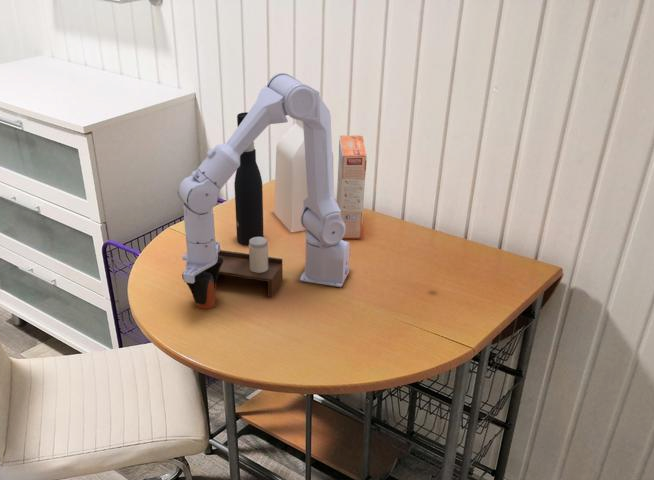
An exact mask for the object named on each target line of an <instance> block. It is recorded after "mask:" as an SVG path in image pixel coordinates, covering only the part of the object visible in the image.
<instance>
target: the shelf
mask: <svg viewBox="0 0 654 480" xmlns="http://www.w3.org/2000/svg"><path fill="white" fill-rule="evenodd" d="M218 257H220V258H222V259H223V263H222V265H221V267H220V270H219V273H218V277H217V279H218V278H219V277H220V276H221V275H224V276H230V277H237V278H243V279H251V280H257V281H264V282H267V287H268V289H267V290H268V293H267V294H268V295H267V296H268V298H270V299H273V297H274V296H275V294H276V292H277V291H278V289H279V288H280V286H281V285H282V283H283V281H284V280H283V276H284V275H283V273H284V272H283V270H284V269H283V267H284V266H283V265H284V264H283V263H284V262H283V258H278V257H273V256H268V270H267V271H265V272H262V273H256V272H252V271H251V270H250V263H249V253H244V252H237V251H231V250H223V249H220V252H219V253H218Z"/></svg>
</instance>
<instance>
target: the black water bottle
mask: <svg viewBox="0 0 654 480" xmlns="http://www.w3.org/2000/svg"><path fill="white" fill-rule="evenodd" d="M248 112H249V111H248ZM248 112H246V111H245V112H240V113H238V114H237V115H236V123H237V124H236V125H237V126H236V127H238V126H239V125H240V123H241V122H242V121H243V119H244V118H245V116H246V115H247V114H248ZM256 151H257V150H256V148H255V140H254V141H253V142H252V143H251V144H250V146H249V147H248V148H247V149H246V150H245V151H244V152H243V153H242V154H241V155H240V166H239V167H238V169H237V170H236V171H235V176H234V183H233V185H234V205H235V206H234V207H235V226H236V242H237V243H238V244H239V245H241V246H245V247H249V240H250V239H251V238H253V237H264V236H265V235H264V234H265V233H264V198H263V197H264V195H263V180H262V174H261V171H260V169H259V166H258V163H257V152H256ZM264 238H265V237H264Z"/></svg>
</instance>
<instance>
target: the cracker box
mask: <svg viewBox="0 0 654 480" xmlns="http://www.w3.org/2000/svg"><path fill="white" fill-rule="evenodd" d="M338 138H339V139H338V160H337V161H338V162H337V183H336V184H337V185H336V202H337V204H338V206H339V208H340V210H341V217H342V220H343V222H344V223H345V226H346V231H345V235H344V237H343V238H342V239H362V232H363V231H362V230H363V219H364V218H363V217H364V216H363V215H364V203H365V202H364V201H365V190H366V189H365V188H366V174H367V162H368V161H367V159H368V155H367V150H366V146H365V142H364V137H363V135H339V137H338Z"/></svg>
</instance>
